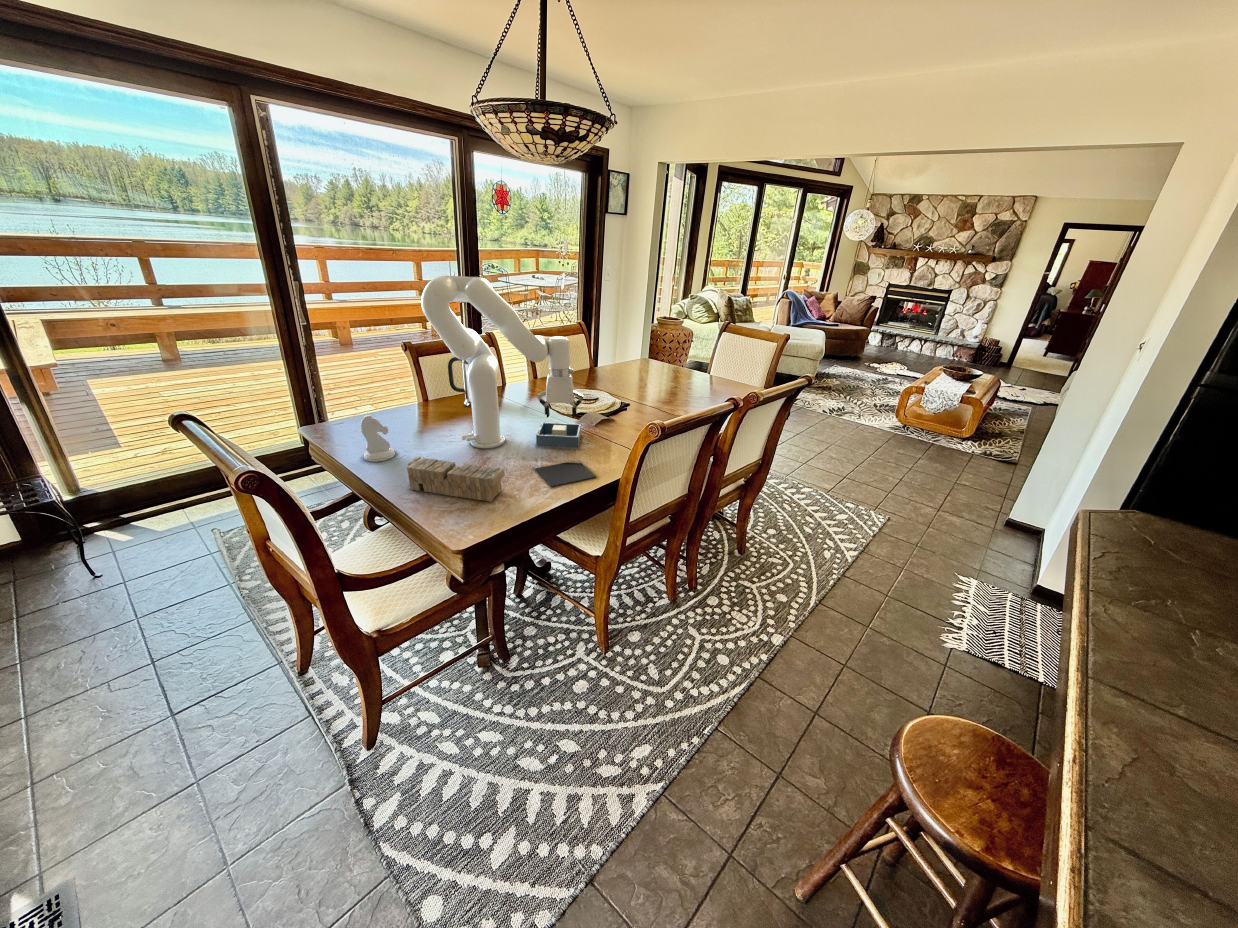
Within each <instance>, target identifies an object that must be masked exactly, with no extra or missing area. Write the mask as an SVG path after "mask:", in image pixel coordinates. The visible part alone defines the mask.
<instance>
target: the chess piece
mask: <svg viewBox="0 0 1238 928" xmlns="http://www.w3.org/2000/svg"><path fill="white" fill-rule="evenodd" d="M360 432H361V434H362V435H363V437H364V439H365V441H366V446H365V447H364V450H365V452H364V453H363V460H365V461H367V462H372V463H373V462H374V463H375V462H383V461H388V460H390V459H392V458H393V457H394V456H395V455H396V452H395V450H394V449H393V448H391V444H390V442H389V441H388V440H387V439H386V438H385V437H384V436H382V435H381V434H383V435H385V436H386V435H387V434H388V433H389V427H388V426H387V425H384V424H382V423H381V422H380V421H379V420H378V418H376V417H373V416H372V414H367V415H364V416H363V417H362V419H361V420H360ZM379 433H381V434H379Z"/></svg>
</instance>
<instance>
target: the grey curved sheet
mask: <svg viewBox="0 0 1238 928" xmlns="http://www.w3.org/2000/svg"><path fill="white" fill-rule="evenodd" d="M604 419H610V420H612V421H614V419H613V418H611V417H607V416H605V415H602V414H600V413H598V412H588V413H585V414H584V415H582V416H581V417H580V418H578V421H577V423H584V424H587V425H589V426H591V427H595V426H596V425H597V424H598V423H599V422H600V421H602V420H604Z"/></svg>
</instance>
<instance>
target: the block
mask: <svg viewBox="0 0 1238 928" xmlns="http://www.w3.org/2000/svg"><path fill="white" fill-rule="evenodd" d="M552 435H558V436H567V426H565V425H554V426H553V429H552Z"/></svg>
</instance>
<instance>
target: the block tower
mask: <svg viewBox="0 0 1238 928" xmlns="http://www.w3.org/2000/svg"><path fill="white" fill-rule="evenodd" d="M456 465H457V464H456V462H455V461H448V460H440V459H439V460H438V459H436V458H429V457H421V456H416V457H415V458H413V459H411V460H410V461H408V463H407V467H406V471H407V476H408V482H409V488H410V490H412V491H421V490H422V489H423V492H425V493H432V494H437V495H438V494H440V495H444V496H450V497H458V498H464V499H471V500H478V501H486V502H488V503H490V502H493V500H494V499H495V497H496V496H497V495H498V494H499V493H500V492H502V490H503V489H502V479H503V478H504V477H505V476H506V474H505V473H506V472H505V468H503V467H498V466H495V467H494V466H485V465H479V464H472V463H463V464H462V465H461V466H456Z"/></svg>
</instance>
